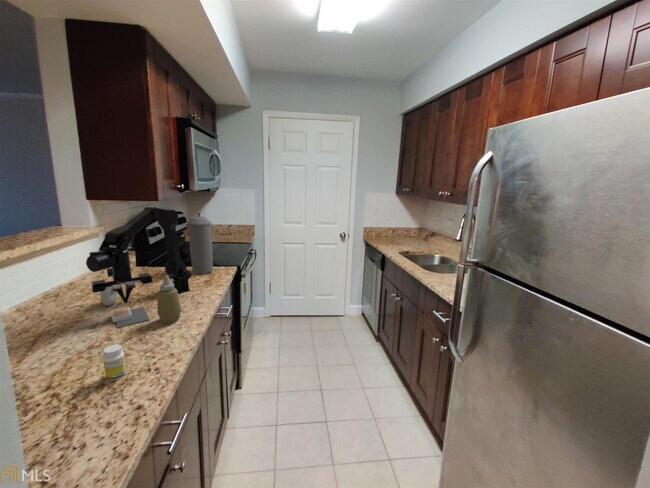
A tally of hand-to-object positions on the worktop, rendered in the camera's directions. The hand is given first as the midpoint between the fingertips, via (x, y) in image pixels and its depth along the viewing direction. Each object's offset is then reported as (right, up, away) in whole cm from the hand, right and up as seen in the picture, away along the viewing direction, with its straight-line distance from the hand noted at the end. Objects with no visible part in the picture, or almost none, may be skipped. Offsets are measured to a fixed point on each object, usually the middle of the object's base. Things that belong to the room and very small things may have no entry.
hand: (125, 303), depth 113 cm
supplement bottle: (+20, -14, -33) cm, 41 cm away
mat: (+2, -6, 0) cm, 6 cm away
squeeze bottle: (+18, -7, -1) cm, 19 cm away
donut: (-14, -3, +11) cm, 19 cm away
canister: (+6, +6, +57) cm, 57 cm away
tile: (+1, -4, +2) cm, 4 cm away
